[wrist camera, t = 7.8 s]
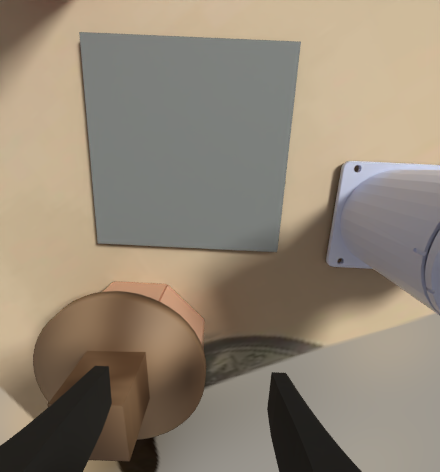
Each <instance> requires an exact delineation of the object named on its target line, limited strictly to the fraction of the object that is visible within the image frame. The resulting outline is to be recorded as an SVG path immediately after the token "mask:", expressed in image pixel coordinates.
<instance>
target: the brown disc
mask: <svg viewBox="0 0 440 472" xmlns="http://www.w3.org/2000/svg"><path fill="white" fill-rule="evenodd" d="M33 366H34V373H35V376H36V380H37V383H38V385H39V387H40V389H41V391H42V393H43V395H44V396H45V398H46V399H47V401H48V402H49V403H48V407H50V406H51V405H52V404H53V403H54V402H55V401H56V400H57V399H59V398H60V397H61V396H62V395H63V394H64V393H65V392H67V391H68V390H69V389H70V388H71V387H72V386H73V385H74V384H75V383H76V382H77V381H79V380H80V379H81V378H82V377H83V376H84V375H85V374H86V373H87V372H88V371H90V370H91V369H92V368H93V367H94V366H109V374H110V386H111V398H112V404H111V407H110V410H109V413H108V416H107V419H106V422H105V424H104V427H103V430H102V432H101V434H100V436H99V439H98V441H97V443H96V445H95V447H94V449H93V451H92V454H91V456H90V458H89V460H106V461H107V460H108V461H130V459H131V456H132V453H133V449H134V446H135V443H136V440H138V439H146V438H151V437H155V436H159V435H161V434H164V433H167V432H169V431H171V430H173V429H174V428H176V427H178V426H179V425H180V424H182V423H183V422H184V421H185V420H187V419H188V418H189V417H190V415H191V414H192V413H193V412H194V411H195V409H196V407H197V406H198V404H199V402H200V399H201V397H202V395H203V391H204V386H205V376H206V359H205V354H204V350H203V347H202V344H201V342H200V340H199V338H198V336H197V334H196V333H195V331H194V330H193V328H192V327H191V326H190V325H189V323H188V322H187V321H186V320H185V319H184V318H183V317H182V316H181V315H180V314H178V313H177V312H176V311H174V310H173V309H172V308H170V307H168V306H167V305H165V304H163V303H162V302H159V301H157V300H155V299H153V298H150V297H147V296H144V295H141V294H136V293H131V292H123V291H106V292H99V293H94V294H91V295H87V296H84V297H82V298H80V299H77V300H75V301H73V302H72V303H70V304H69V305H67V306H66V307H65V308H63V309H62V310H61V311H60V312H59V313H58V314H57V315H56V316H54V317H53V318H52V319H51V320H50V321H49V322H48V323H47V324H46V326H45V327H44V328H43V330H42V331H41V333H40V335H39V337H38V339H37V342H36V345H35V349H34V355H33Z"/></svg>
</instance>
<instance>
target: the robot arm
mask: <svg viewBox="0 0 440 472" xmlns="http://www.w3.org/2000/svg"><path fill="white" fill-rule="evenodd" d="M356 165H358V167H359V169H358V171H357V172H355V171H354V167H355V166H356ZM339 258H342V261H341V262H339V263H337V261H338V259H339ZM326 262H327V264H328V265H330V266H332V267H348V268H368V269H374V270H376V271H377V272H379V273H380V274H381V275H383V276H384V277H386V278H387V279H389V280H390V281H391V282H393V283H394V284H396V285H397V286H399V287H400V288H401V289H403V290H404V291H406V292H407V293H409V294H410V295H411V296H413V297H414V298H416V299H417V300H419V301H420V302H421V303H423V304H424V305H426V306H427V307H429V308H430V309H431V310H433V311H434V312H436V313H437V314H439V315H440V165H426V164H405V163H384V162H362V161H347V162H345V163H344V164H343V165H342V168H341V173H340V179H339V185H338V191H337V197H336V203H335V209H334V215H333V221H332V227H331V233H330V239H329V245H328V251H327V257H326ZM111 404H112V398H111V386H110V374H109V366H94V367H93V368H92V369H91V370H90V371H88V372H87V373H86V374H85V375H84V376H83V377H82V378H81V379H80V380H79V381H77V382H76V383H75V384H74V385H73V386H72V387H71V388H70V389H69V390H68V391H67V392H65V393H64V394H63V395H62V396H61V397H60V398H59V399H57V400H56V401H55V402H54V403H53V404H52V405H51V406H50V407H48V408H47V409H46V410H45V411H44V412H43V413H41V414H40V415H39V416H38V417H36V418H35V419H34V420H33V421H32V422H31V423H29V424H28V425H27V426H26V427H24V428H23V429H22V430H21V431H20V432H18V433H17V434H15V435H14V436H13V437H12V438H10V439H9V440H8V441H7V442H5V443H4V444H2V445H1V446H0V472H83V470H84V468H85V466H86V464H87V462H88V460H89V458H90V456H91V454H92V451H93V449H94V447H95V445H96V443H97V441H98V439H99V436H100V434H101V432H102V430H103V427H104V424H105V422H106V419H107V416H108V413H109V410H110V407H111ZM267 410H268V417H269V425H270V432H271V438H272V442H273V447H274V451H275V455H276V459H277V464H278V468H279V472H361V470H360V469H359V468H358V467H357V466H356V465H355V464H354V463H353V462H352V461H351V459H350V458H349V457H348V456H347V455H346V454H345V453H344V451H343V450H342V449H341V448H340V447H339V446H338V444H337V443H336V442H335V441H334V440H333V438H332V437H331V436H330V435H329V433H328V432H327V431H326V430H325V428H324V427H323V426H322V424H321V423H320V422H319V420H318V419H317V418H316V416H315V415H314V414H313V412H312V411H311V409H310V408H309V407H308V406H307V404H306V402H305V401H304V400H303V398H302V397H301V395H300V394H299V392H298V391H297V389H296V388H295V386H294V385H293V383H292V381H291V380H290V378H289V377H288V376H287V374H286V373H273V372H272V375H271V383H270V391H269V400H268V409H267Z"/></svg>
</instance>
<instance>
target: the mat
mask: <svg viewBox="0 0 440 472" xmlns="http://www.w3.org/2000/svg"><path fill="white" fill-rule="evenodd" d="M79 34H80V46H81V57H82V68H83V80H84V91H85V103H86V114H87V126H88V137H89V149H90V160H91V171H92V183H93V194H94V206H95V217H96V229H97V240H98V243H102V244H122V245H142V246H163V247H183V248H203V249H223V250H244V251H264V252H277V250H278V241H279V232H280V223H281V214H282V205H283V196H284V187H285V178H286V169H287V160H288V151H289V142H290V133H291V125H292V116H293V107H294V98H295V89H296V80H297V71H298V62H299V53H300V44H301V42H294V41H271V40H248V39H225V38H202V37H179V36H156V35H133V34H110V33H87V32H79Z"/></svg>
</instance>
